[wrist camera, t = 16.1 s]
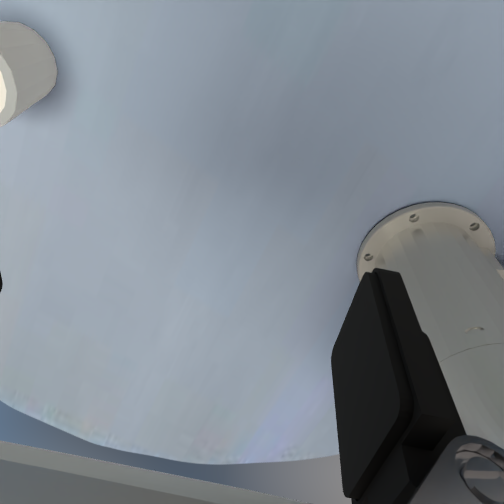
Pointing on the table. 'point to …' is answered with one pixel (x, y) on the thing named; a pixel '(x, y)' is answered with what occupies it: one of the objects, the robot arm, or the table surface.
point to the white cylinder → (23, 69)
